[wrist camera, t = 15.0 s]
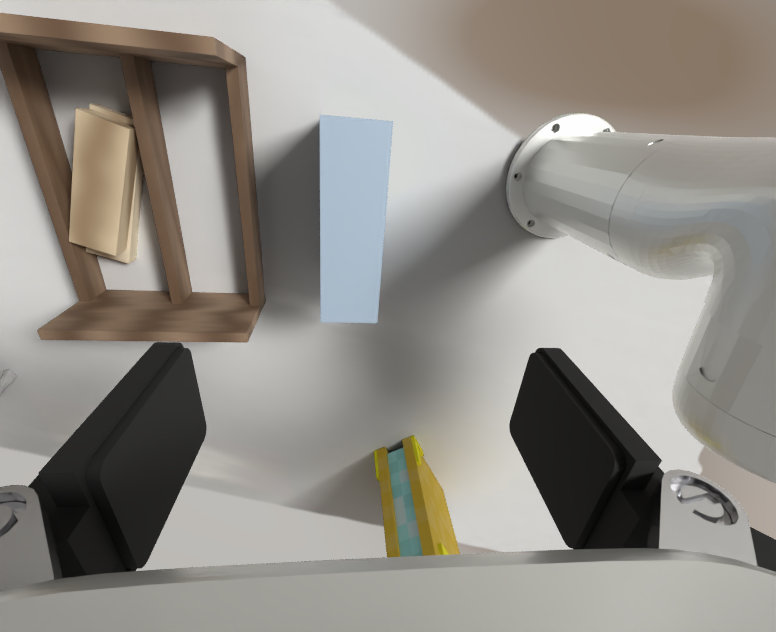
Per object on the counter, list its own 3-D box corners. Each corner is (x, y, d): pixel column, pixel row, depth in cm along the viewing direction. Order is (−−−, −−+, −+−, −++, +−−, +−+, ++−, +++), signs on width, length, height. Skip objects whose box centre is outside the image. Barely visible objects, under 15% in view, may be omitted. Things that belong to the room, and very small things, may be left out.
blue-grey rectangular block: (378, 120, 36) (393, 121, 26) (369, 274, 43) (377, 323, 33) (327, 116, 35) (319, 114, 25) (326, 272, 43) (320, 322, 32)
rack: (245, 57, 33) (213, 37, 25) (265, 302, 44) (247, 342, 36) (16, 32, 30) (-99, 1, 22) (99, 297, 41) (40, 339, 33)
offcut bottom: (150, 122, 35) (140, 122, 33) (138, 257, 40) (129, 263, 39) (103, 104, 34) (89, 103, 32) (97, 245, 39) (85, 251, 38)
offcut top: (140, 129, 33) (129, 129, 31) (126, 249, 38) (115, 256, 36) (90, 108, 32) (75, 108, 30) (81, 235, 37) (68, 241, 35)
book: (373, 451, 57) (392, 658, 35) (413, 435, 56) (457, 635, 34) (414, 510, 65) (450, 709, 43) (450, 496, 64) (504, 692, 42)
